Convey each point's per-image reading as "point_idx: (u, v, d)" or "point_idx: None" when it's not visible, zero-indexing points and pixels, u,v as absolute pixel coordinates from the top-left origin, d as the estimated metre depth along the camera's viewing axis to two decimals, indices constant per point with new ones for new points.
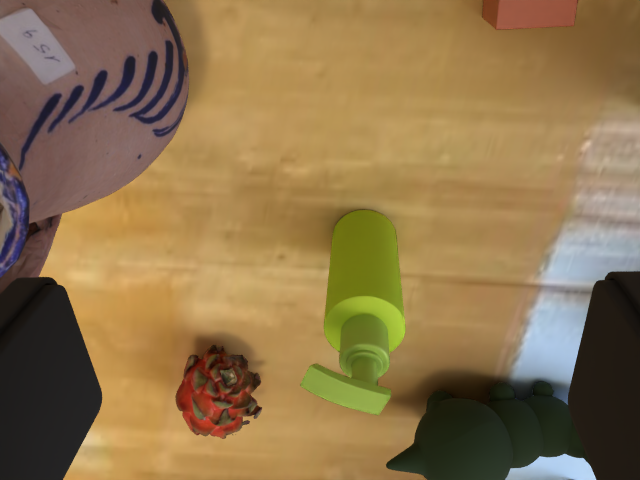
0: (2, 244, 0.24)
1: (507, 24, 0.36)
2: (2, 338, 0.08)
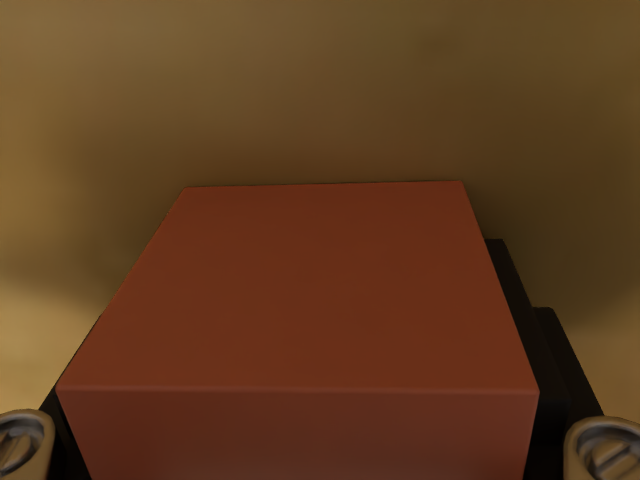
0: None
1: None
2: None
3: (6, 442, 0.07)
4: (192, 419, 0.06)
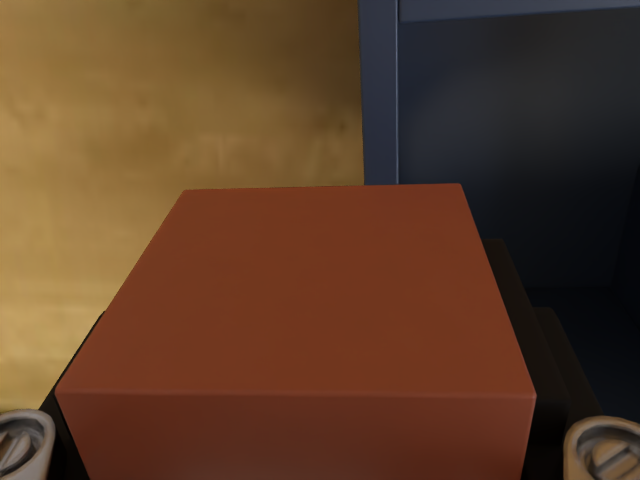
0: None
1: None
2: None
3: (6, 442, 0.07)
4: (191, 421, 0.06)
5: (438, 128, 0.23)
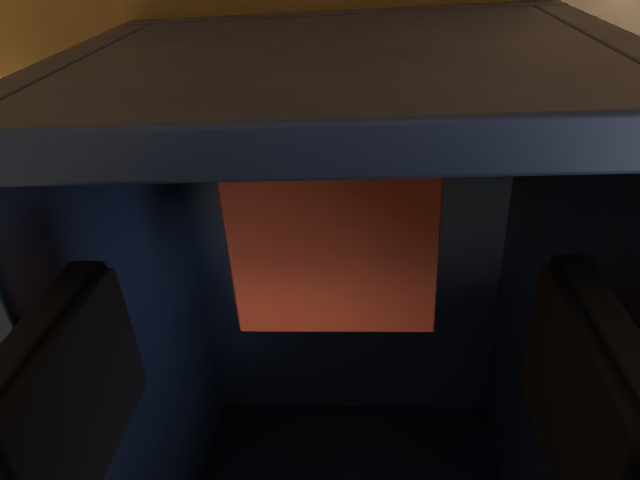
0: None
1: (265, 323, 0.14)
2: (65, 316, 0.09)
3: None
4: None
5: None
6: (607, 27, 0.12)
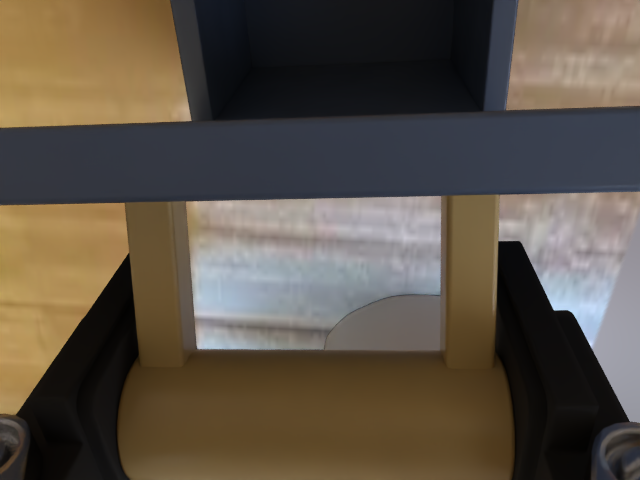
0: None
1: None
2: None
3: None
4: None
5: None
6: None
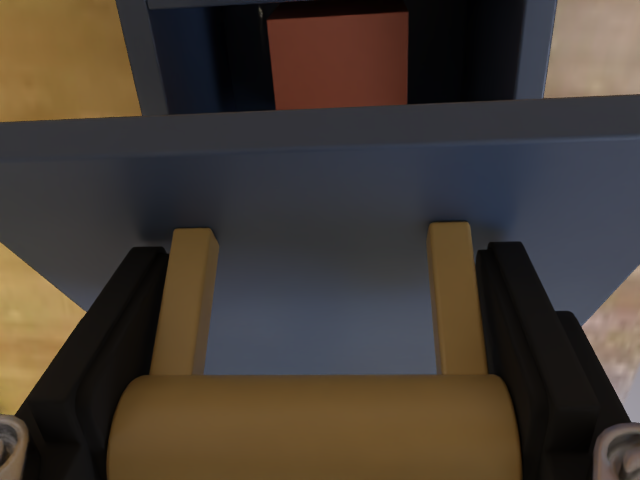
0: None
1: None
2: (136, 298, 0.09)
3: None
4: (307, 30, 0.20)
5: None
6: None
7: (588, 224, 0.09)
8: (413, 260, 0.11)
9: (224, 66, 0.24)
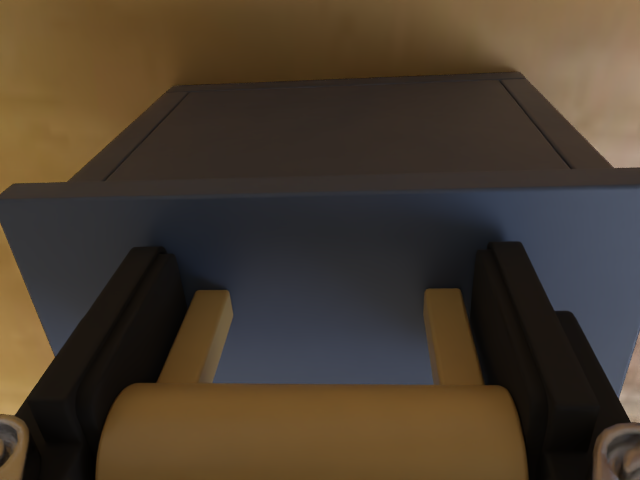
0: None
1: None
2: (136, 298, 0.09)
3: None
4: None
5: None
6: (547, 110, 0.15)
7: (567, 297, 0.11)
8: (413, 346, 0.11)
9: None
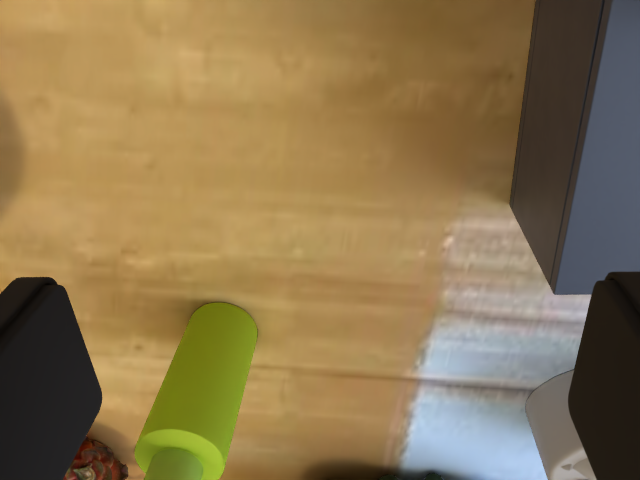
0: None
1: None
2: (2, 338, 0.08)
3: None
4: None
5: None
6: None
7: None
8: None
9: None
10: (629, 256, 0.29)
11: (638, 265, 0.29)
